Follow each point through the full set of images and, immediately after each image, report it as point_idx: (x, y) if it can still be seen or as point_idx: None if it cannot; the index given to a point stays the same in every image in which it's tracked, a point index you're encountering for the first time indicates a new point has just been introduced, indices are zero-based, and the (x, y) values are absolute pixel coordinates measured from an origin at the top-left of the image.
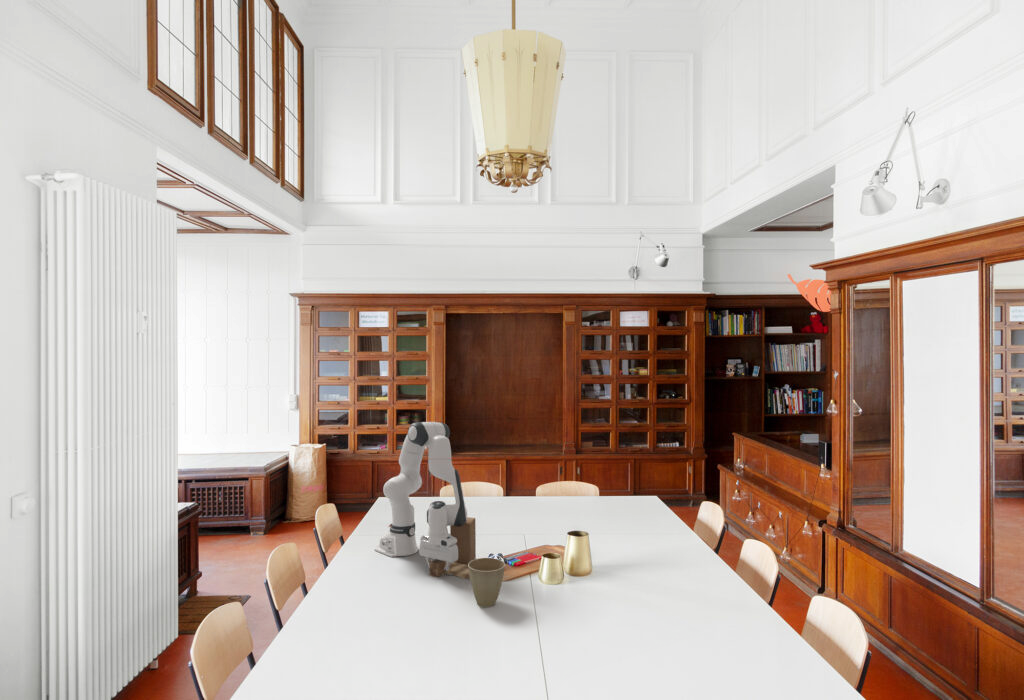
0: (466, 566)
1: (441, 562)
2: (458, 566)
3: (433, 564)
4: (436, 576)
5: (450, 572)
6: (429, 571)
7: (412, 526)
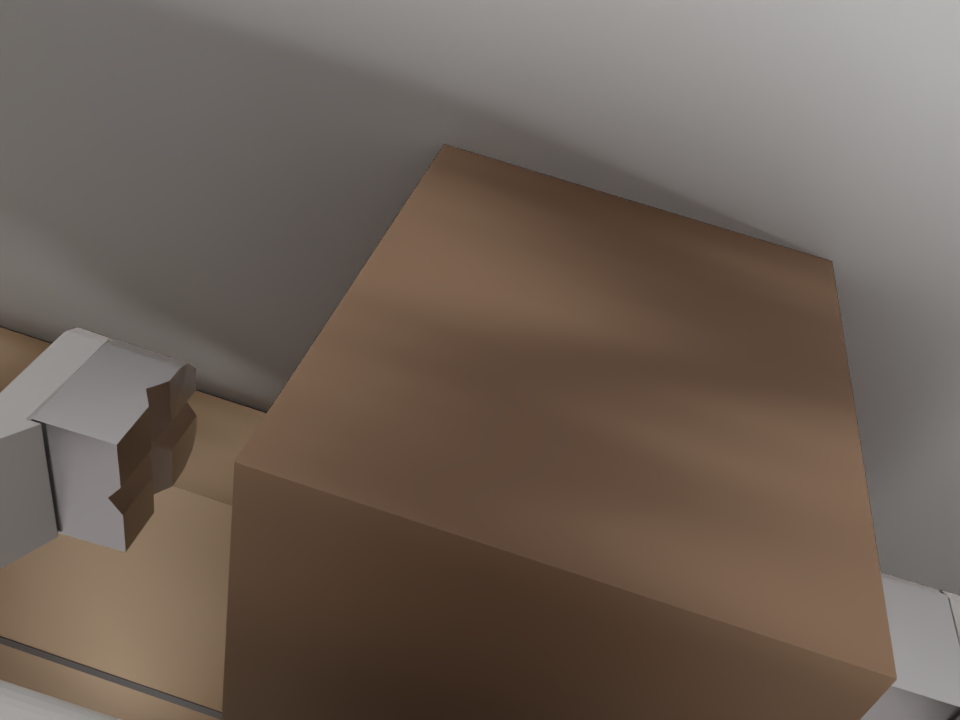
0: (2, 676)
1: (226, 643)
2: (148, 674)
3: (583, 502)
4: (507, 167)
5: (198, 434)
6: (840, 333)
7: None
